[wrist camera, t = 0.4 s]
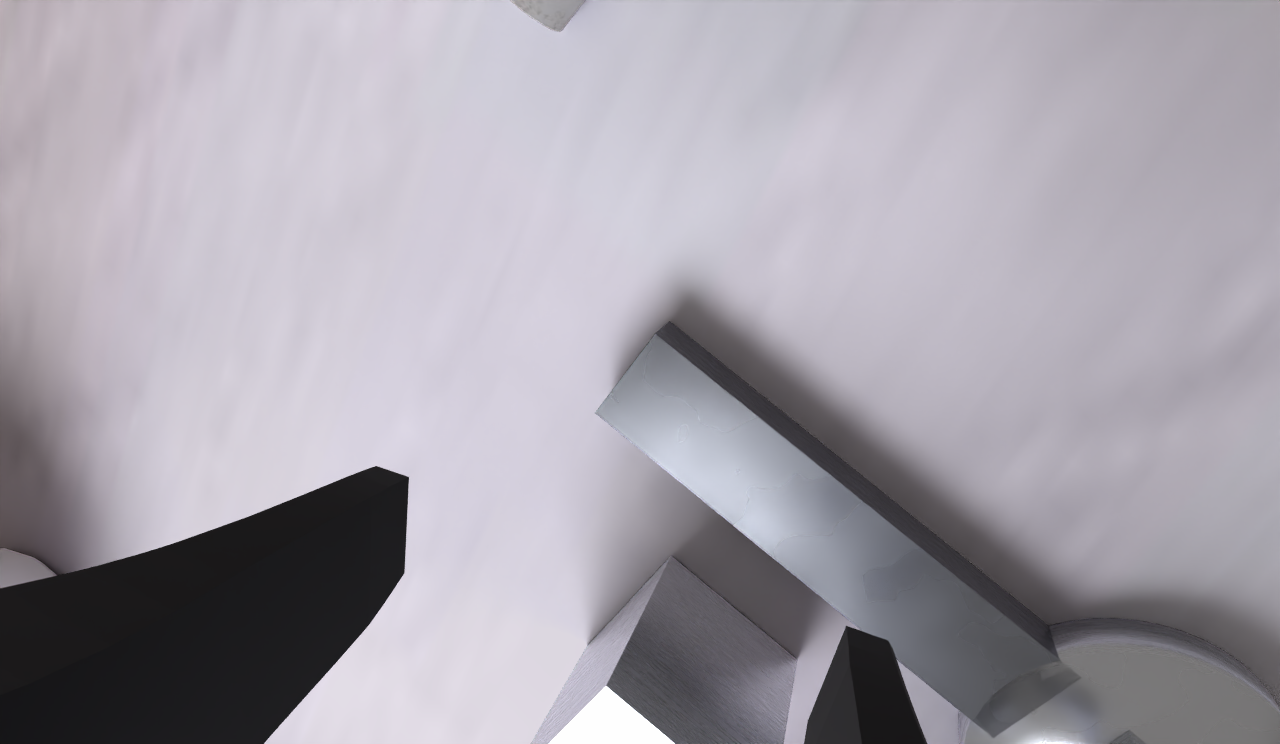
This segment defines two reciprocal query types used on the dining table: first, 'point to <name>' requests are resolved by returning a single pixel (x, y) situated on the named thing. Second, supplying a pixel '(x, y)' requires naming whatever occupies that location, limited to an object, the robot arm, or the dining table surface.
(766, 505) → the ratchet
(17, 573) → the potted plant
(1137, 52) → the dining table surface
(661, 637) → the brushed metal cube
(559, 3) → the wrench
